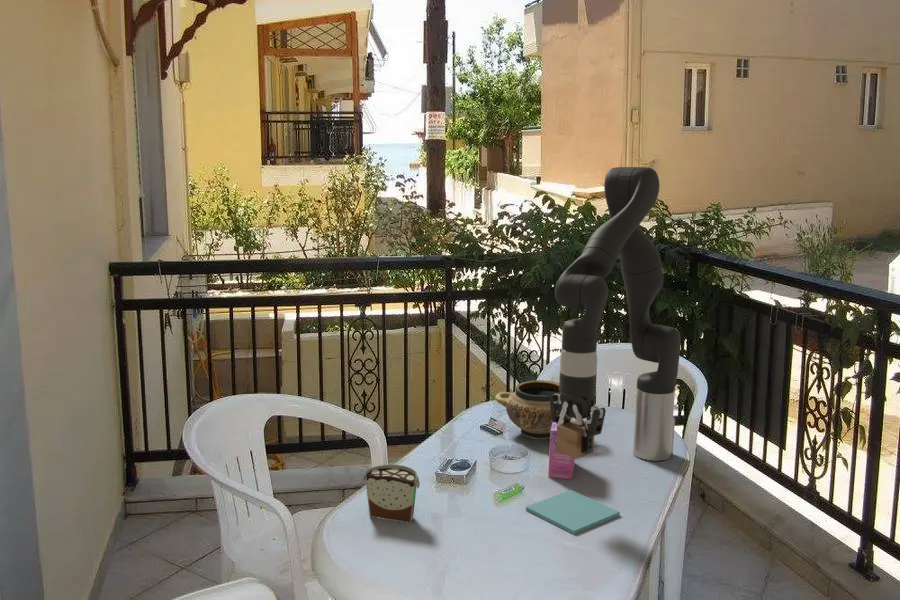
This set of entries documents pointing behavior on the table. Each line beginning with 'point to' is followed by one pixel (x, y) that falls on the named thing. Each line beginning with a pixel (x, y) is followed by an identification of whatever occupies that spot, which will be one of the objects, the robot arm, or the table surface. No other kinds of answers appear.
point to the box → (559, 458)
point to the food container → (391, 492)
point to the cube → (571, 440)
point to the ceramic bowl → (530, 407)
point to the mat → (572, 511)
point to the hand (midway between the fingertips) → (574, 447)
